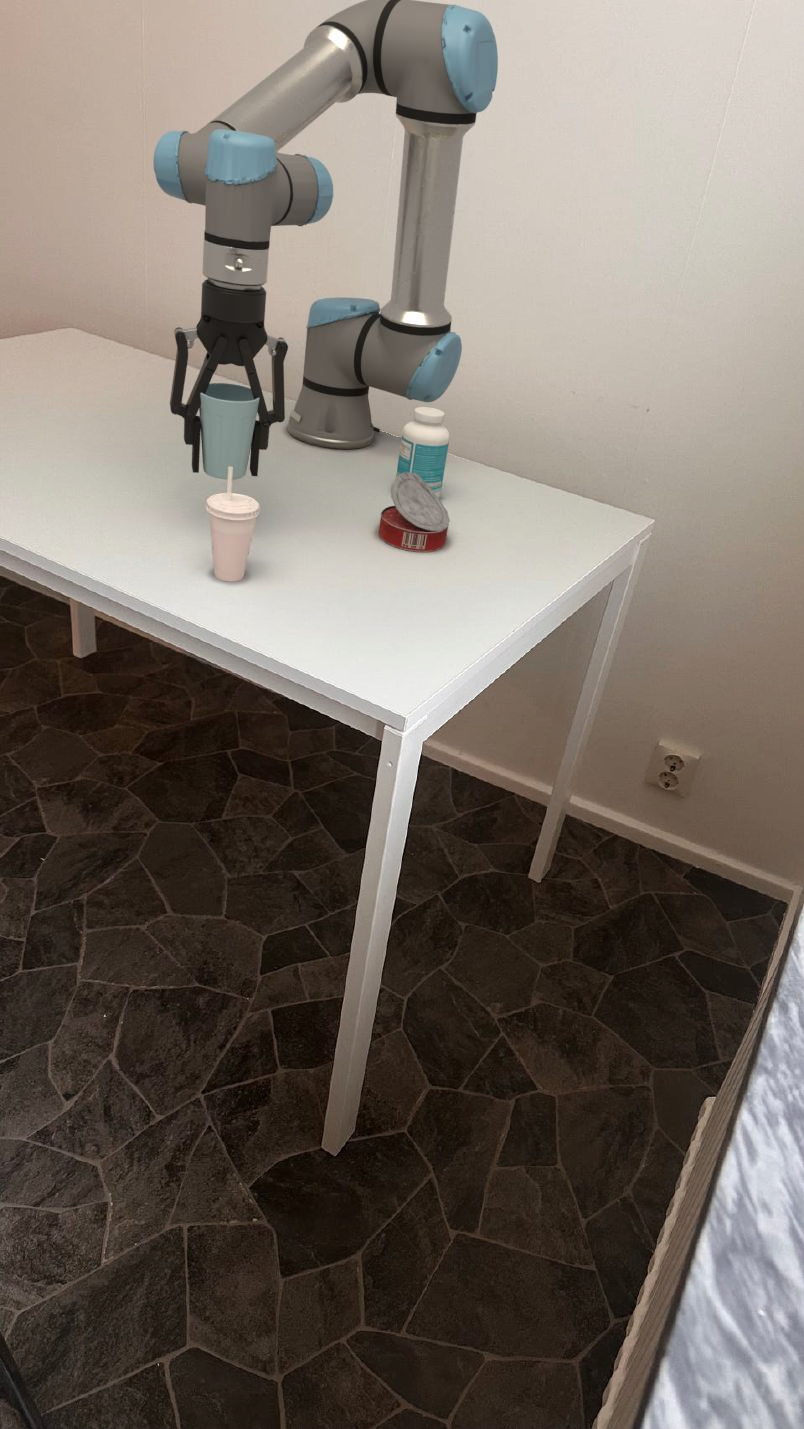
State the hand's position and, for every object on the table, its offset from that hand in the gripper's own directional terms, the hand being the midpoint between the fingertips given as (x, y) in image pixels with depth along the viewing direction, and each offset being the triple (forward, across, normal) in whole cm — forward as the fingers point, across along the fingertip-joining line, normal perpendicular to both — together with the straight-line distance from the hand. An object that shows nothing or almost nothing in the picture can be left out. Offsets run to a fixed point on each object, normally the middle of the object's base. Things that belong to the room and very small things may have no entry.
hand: (224, 470), depth 129 cm
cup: (0, 0, 0) cm, 0 cm away
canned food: (+10, +28, +3) cm, 29 cm away
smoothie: (+10, 0, -12) cm, 15 cm away
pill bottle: (+9, +33, +20) cm, 39 cm away
